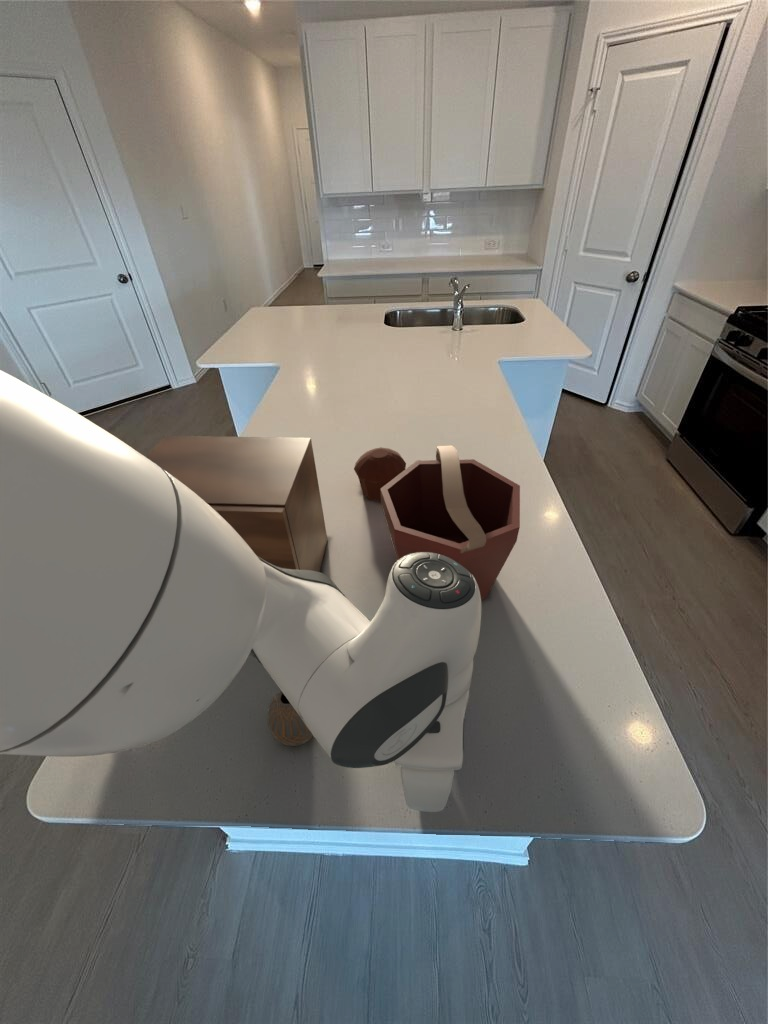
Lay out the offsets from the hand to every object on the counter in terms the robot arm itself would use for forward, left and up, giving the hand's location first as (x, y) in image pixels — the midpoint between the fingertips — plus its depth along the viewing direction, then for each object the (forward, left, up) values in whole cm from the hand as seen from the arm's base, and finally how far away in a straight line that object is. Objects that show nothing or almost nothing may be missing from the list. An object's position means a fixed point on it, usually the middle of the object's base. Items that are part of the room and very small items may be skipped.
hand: (424, 732), depth 55 cm
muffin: (+50, +28, -5) cm, 58 cm away
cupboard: (+18, +41, -5) cm, 45 cm away
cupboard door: (+6, +37, -5) cm, 38 cm away
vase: (-4, +17, -5) cm, 18 cm away
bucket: (+30, +7, -5) cm, 31 cm away
